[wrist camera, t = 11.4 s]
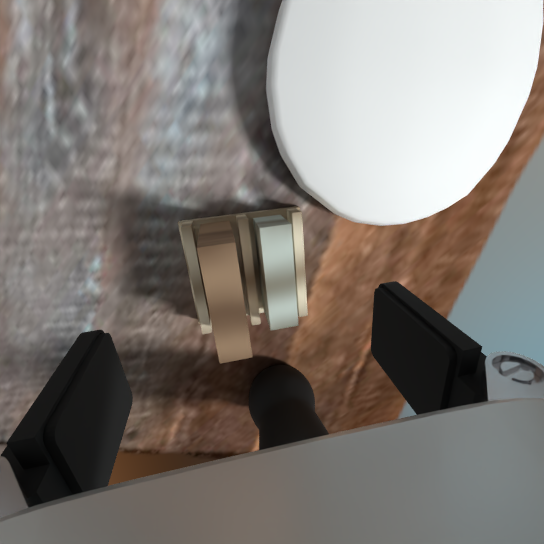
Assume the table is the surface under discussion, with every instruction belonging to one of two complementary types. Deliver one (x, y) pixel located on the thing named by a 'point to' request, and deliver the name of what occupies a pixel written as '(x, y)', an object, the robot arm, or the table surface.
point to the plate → (398, 98)
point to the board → (224, 290)
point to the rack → (257, 265)
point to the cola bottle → (283, 407)
